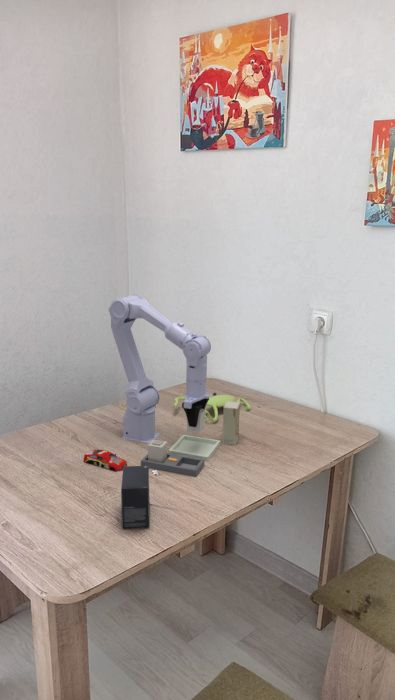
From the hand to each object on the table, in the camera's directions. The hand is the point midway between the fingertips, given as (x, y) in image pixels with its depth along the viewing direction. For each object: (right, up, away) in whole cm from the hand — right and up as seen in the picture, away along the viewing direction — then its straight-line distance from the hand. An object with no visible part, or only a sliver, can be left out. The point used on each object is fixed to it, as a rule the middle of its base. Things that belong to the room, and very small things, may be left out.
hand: (195, 423), depth 163 cm
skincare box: (+11, -7, +9) cm, 16 cm away
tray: (0, -8, +2) cm, 9 cm away
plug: (0, -2, 0) cm, 2 cm away
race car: (-25, -11, -8) cm, 28 cm away
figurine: (+5, -1, +34) cm, 34 cm away
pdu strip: (-6, -11, -9) cm, 15 cm away
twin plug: (-10, -10, -7) cm, 16 cm away
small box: (-14, -18, -32) cm, 39 cm away
